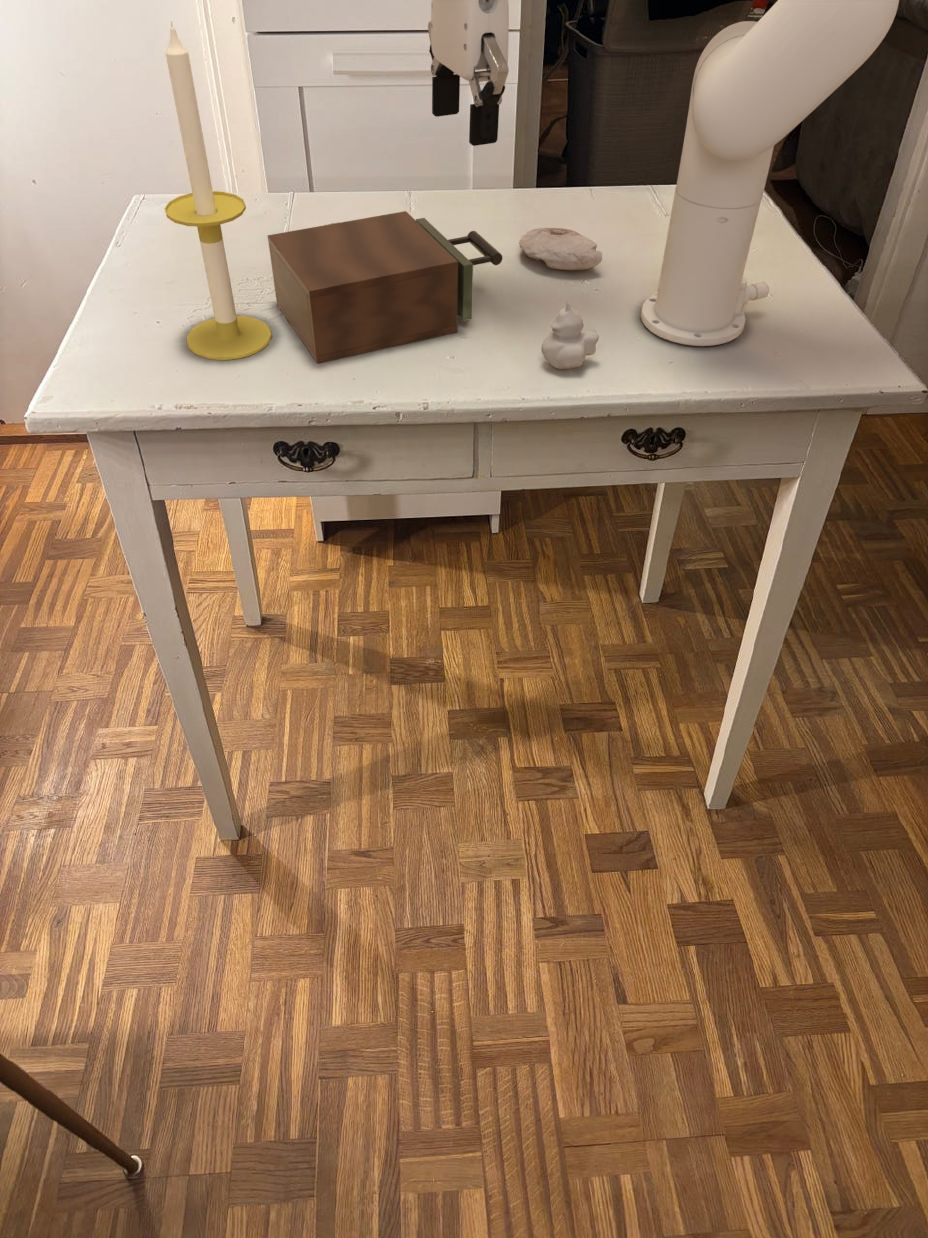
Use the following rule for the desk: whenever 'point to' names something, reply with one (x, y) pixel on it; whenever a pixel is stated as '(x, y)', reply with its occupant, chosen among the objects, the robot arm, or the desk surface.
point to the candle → (208, 227)
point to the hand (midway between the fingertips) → (463, 128)
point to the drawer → (464, 263)
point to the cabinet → (364, 285)
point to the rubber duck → (568, 340)
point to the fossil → (561, 248)
